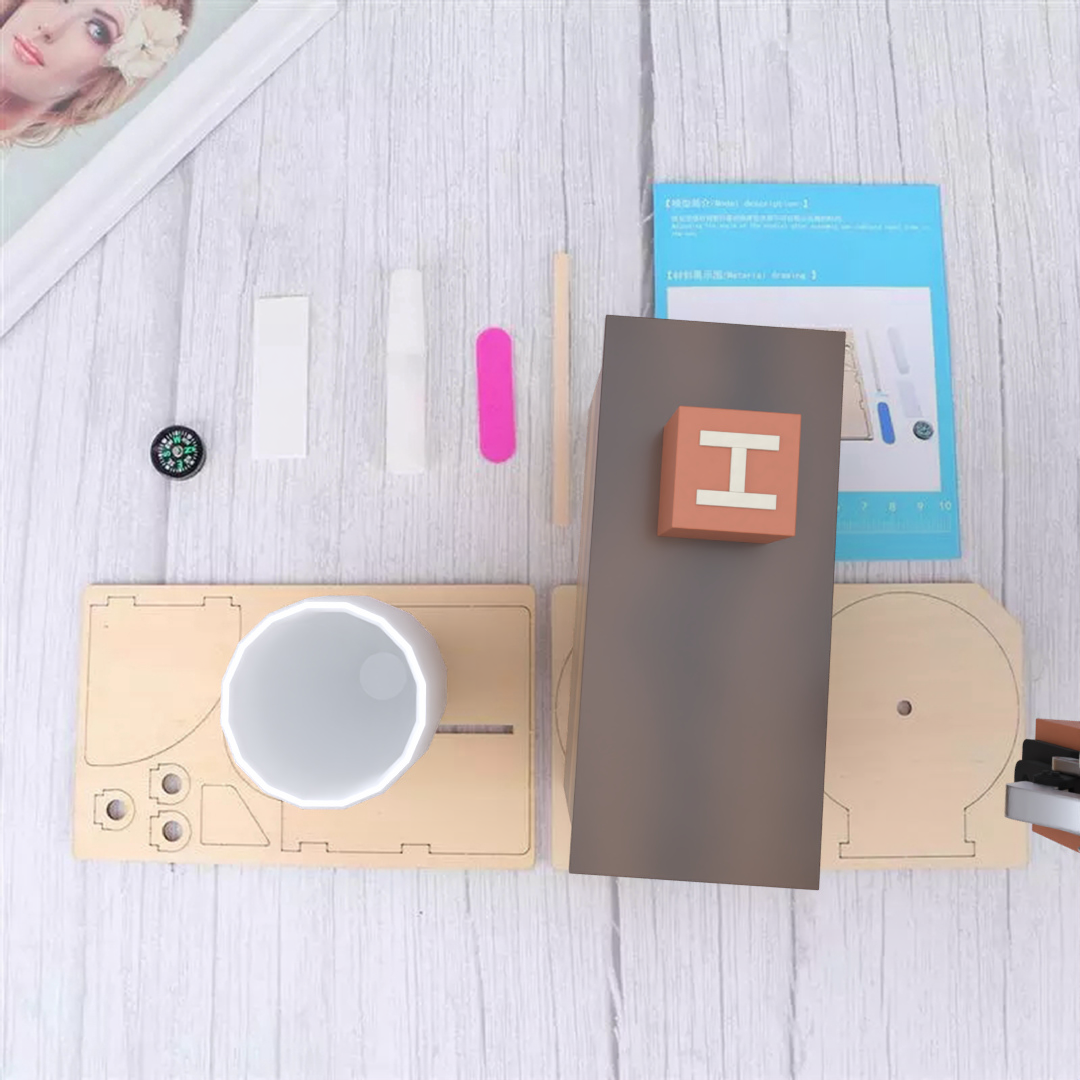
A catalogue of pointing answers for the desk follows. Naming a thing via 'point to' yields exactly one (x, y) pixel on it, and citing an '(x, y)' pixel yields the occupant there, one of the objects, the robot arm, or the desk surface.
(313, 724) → the cup
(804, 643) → the word board
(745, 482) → the tile
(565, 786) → the stand
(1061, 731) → the tile
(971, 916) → the desk surface
